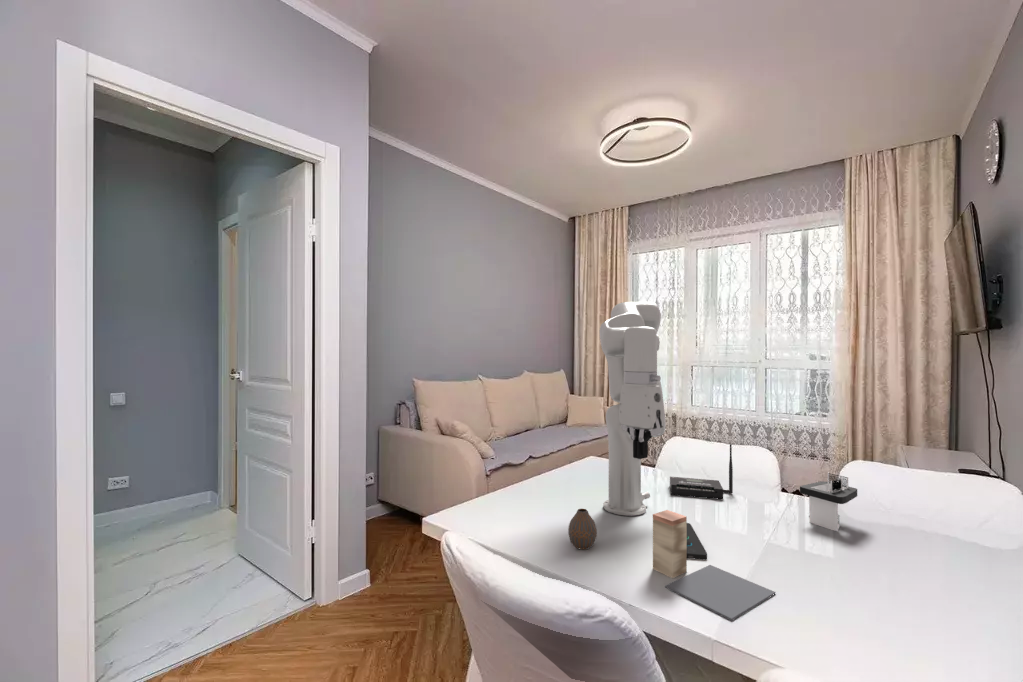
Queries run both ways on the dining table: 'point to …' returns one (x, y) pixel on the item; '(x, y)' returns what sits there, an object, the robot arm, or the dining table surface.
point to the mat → (720, 591)
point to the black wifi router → (701, 485)
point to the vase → (582, 530)
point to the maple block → (670, 543)
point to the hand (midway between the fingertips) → (640, 457)
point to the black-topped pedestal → (827, 500)
